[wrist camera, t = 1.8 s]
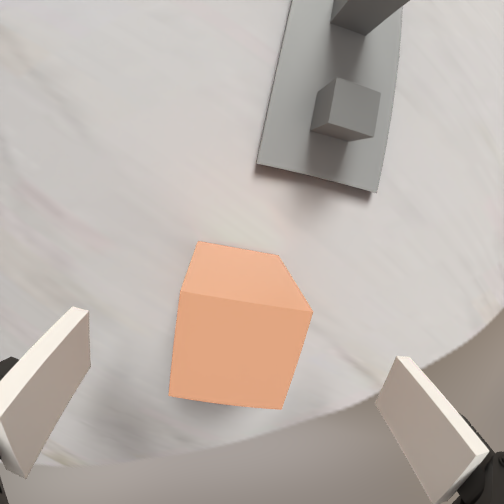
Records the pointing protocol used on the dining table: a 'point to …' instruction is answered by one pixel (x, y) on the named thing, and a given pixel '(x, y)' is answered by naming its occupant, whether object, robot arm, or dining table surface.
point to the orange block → (237, 328)
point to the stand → (334, 90)
